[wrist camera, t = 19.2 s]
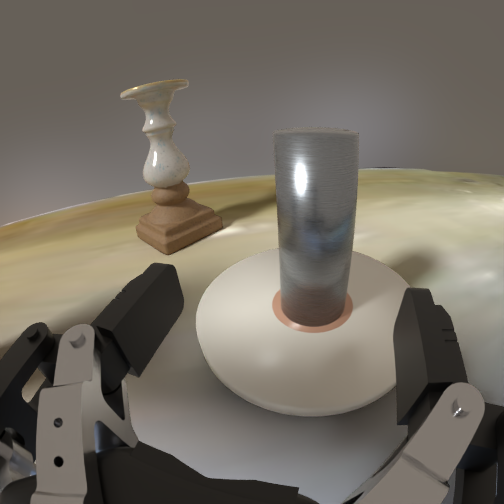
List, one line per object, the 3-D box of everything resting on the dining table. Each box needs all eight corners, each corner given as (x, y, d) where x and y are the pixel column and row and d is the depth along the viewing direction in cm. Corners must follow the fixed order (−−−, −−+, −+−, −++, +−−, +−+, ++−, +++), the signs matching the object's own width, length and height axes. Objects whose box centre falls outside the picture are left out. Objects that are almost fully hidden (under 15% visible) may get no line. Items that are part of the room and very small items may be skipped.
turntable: (192, 430, 15) (186, 421, 15) (206, 266, 33) (204, 255, 32) (456, 375, 16) (463, 363, 15) (368, 248, 33) (370, 237, 32)
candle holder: (167, 256, 39) (134, 84, 27) (136, 236, 46) (107, 98, 34) (224, 227, 45) (206, 76, 33) (186, 213, 52) (167, 87, 40)
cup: (286, 331, 21) (280, 139, 14) (276, 288, 26) (267, 129, 19) (353, 320, 21) (374, 137, 14) (333, 280, 26) (340, 127, 19)
